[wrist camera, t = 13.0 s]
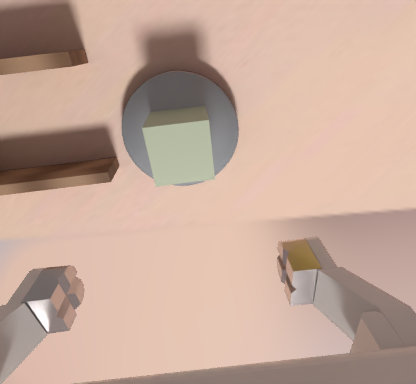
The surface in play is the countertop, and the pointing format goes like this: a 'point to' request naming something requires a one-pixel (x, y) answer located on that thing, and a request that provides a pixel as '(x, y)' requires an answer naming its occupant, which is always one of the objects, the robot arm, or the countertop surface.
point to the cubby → (62, 172)
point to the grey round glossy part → (174, 99)
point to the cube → (179, 145)
